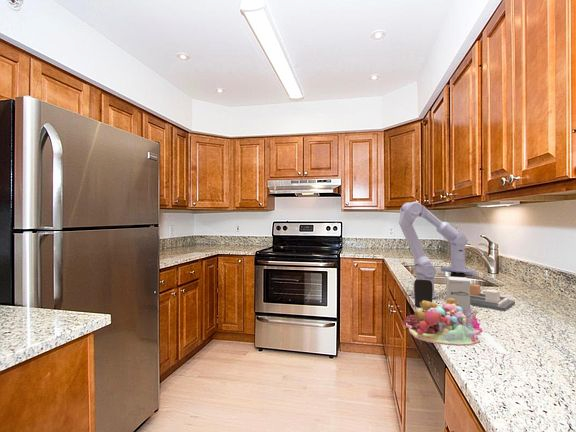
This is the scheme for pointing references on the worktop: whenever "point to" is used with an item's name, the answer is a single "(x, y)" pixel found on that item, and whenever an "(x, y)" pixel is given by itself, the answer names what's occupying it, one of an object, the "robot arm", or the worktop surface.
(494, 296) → the cream white block
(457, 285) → the supplement box
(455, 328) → the candy landscape model
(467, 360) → the worktop surface
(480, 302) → the gray compartment tray
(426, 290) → the battery charger
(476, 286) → the orange block
